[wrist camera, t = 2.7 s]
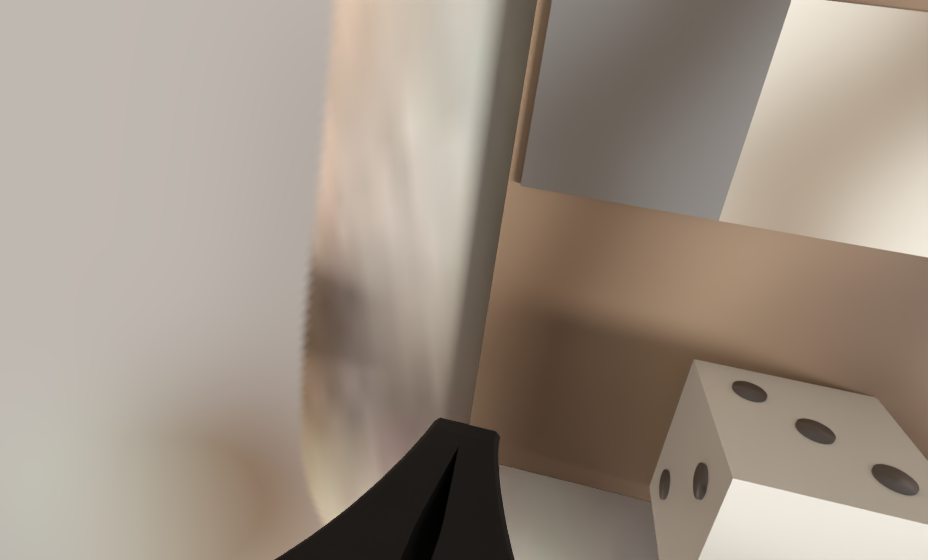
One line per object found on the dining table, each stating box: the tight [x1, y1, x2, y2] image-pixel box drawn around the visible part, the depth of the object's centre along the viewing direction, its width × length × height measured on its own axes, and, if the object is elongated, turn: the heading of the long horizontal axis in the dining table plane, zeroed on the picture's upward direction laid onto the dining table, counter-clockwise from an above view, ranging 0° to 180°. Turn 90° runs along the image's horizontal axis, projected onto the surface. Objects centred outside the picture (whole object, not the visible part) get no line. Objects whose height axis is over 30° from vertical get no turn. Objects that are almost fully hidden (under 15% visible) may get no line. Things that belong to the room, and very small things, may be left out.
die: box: [649, 359, 928, 560], centre depth 12 cm, size 4×4×4 cm
